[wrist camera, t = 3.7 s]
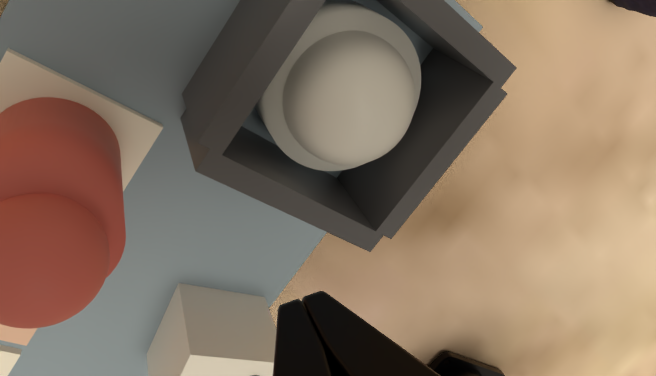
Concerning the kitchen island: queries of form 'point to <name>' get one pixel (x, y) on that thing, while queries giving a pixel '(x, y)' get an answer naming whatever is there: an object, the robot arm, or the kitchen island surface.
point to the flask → (638, 6)
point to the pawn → (56, 210)
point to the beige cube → (213, 335)
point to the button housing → (356, 183)
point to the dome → (343, 89)
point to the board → (147, 172)
